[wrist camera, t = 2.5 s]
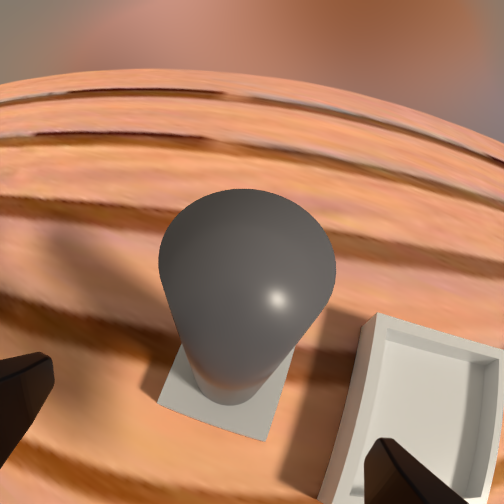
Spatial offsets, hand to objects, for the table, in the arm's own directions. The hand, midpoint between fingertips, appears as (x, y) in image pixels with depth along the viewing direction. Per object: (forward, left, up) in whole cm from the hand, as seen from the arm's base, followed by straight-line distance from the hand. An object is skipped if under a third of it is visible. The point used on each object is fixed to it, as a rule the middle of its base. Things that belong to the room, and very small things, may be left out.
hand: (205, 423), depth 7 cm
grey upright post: (+3, 0, -11) cm, 11 cm away
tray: (+3, -13, -11) cm, 17 cm away
